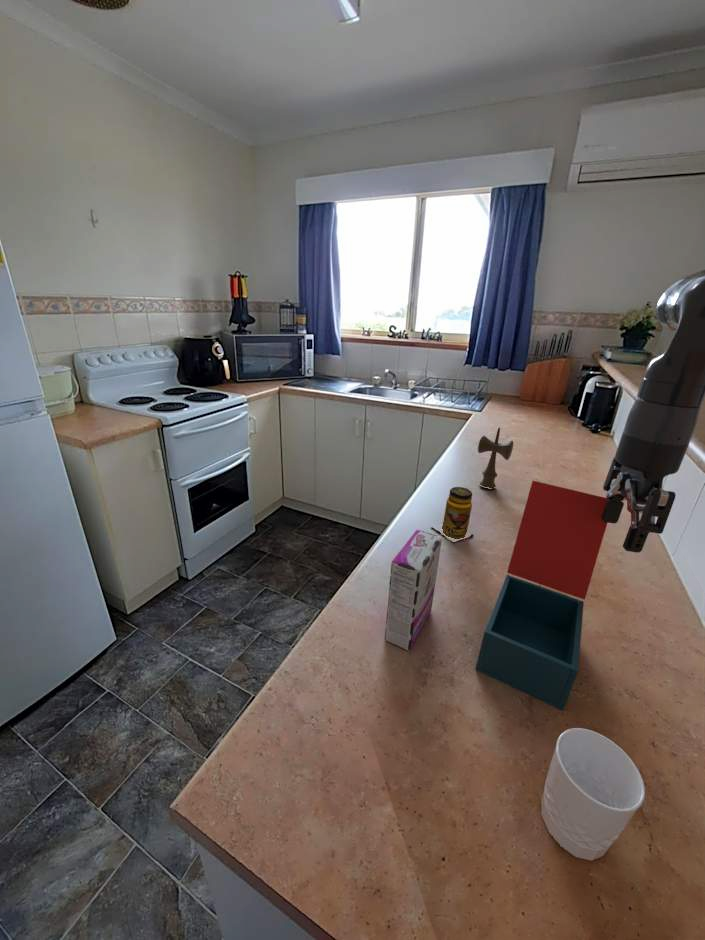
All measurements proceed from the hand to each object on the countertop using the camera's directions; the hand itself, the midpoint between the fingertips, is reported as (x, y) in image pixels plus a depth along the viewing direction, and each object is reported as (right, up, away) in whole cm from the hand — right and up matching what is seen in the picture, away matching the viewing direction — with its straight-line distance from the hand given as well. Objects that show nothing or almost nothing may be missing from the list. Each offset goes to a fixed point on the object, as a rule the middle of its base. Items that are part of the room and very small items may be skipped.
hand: (619, 535), depth 61 cm
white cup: (-16, -30, -16) cm, 37 cm away
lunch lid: (-5, -2, +8) cm, 10 cm away
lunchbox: (-12, -20, +6) cm, 24 cm away
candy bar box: (-31, -18, +10) cm, 37 cm away
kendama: (+2, +4, +66) cm, 67 cm away
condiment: (-16, -6, +40) cm, 43 cm away
